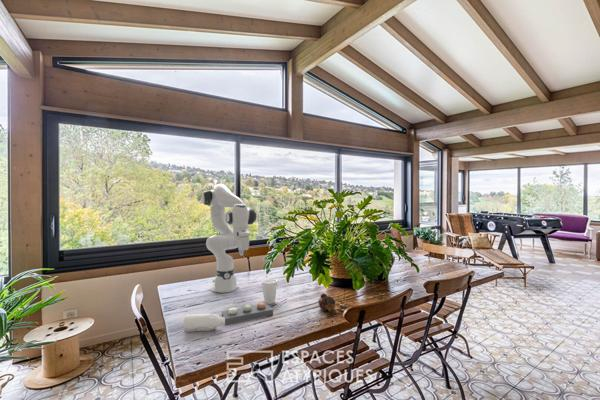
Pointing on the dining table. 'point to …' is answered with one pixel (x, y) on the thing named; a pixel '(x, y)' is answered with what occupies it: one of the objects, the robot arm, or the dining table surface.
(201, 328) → the white plastic bottle
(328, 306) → the decorative turtle
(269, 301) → the foam cup
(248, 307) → the sage button
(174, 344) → the dining table surface
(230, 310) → the white round dome
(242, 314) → the console
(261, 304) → the orange rounded lump
